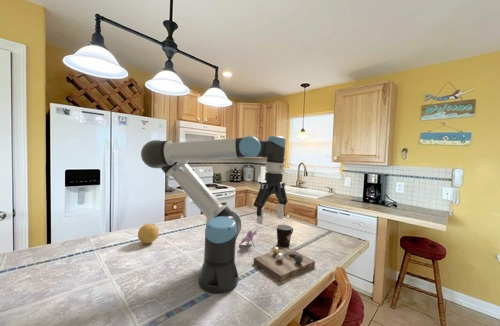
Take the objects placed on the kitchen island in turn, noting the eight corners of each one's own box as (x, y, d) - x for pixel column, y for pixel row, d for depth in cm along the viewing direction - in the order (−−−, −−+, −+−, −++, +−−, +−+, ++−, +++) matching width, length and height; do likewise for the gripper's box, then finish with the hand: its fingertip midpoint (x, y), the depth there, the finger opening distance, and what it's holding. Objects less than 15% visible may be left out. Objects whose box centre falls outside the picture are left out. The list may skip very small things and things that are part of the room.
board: (280, 282, 83) (280, 275, 83) (253, 263, 97) (253, 257, 97) (314, 266, 97) (315, 261, 96) (286, 251, 110) (287, 247, 110)
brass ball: (275, 256, 99) (276, 249, 98) (270, 253, 101) (271, 246, 101) (281, 255, 101) (281, 248, 101) (276, 252, 103) (276, 245, 103)
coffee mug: (279, 248, 113) (280, 230, 113) (273, 242, 122) (274, 224, 121) (298, 247, 116) (300, 229, 116) (291, 240, 125) (292, 224, 124)
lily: (259, 243, 121) (253, 227, 123) (267, 243, 110) (259, 225, 113) (240, 252, 116) (234, 235, 119) (246, 253, 106) (239, 235, 108)
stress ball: (135, 247, 108) (143, 239, 103) (133, 229, 113) (142, 220, 108) (154, 245, 115) (163, 237, 111) (152, 228, 120) (160, 220, 116)
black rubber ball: (298, 265, 92) (299, 258, 92) (292, 262, 94) (293, 254, 94) (303, 263, 94) (304, 256, 94) (297, 260, 96) (298, 253, 96)
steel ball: (279, 263, 92) (280, 256, 92) (274, 260, 95) (274, 253, 95) (285, 261, 94) (285, 254, 94) (279, 258, 97) (280, 251, 97)
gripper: (261, 173, 81) (256, 228, 81) (297, 173, 98) (293, 218, 99) (247, 171, 86) (243, 223, 87) (284, 171, 103) (280, 214, 104)
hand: (270, 220), depth 93 cm, fingers open, 13 cm apart
